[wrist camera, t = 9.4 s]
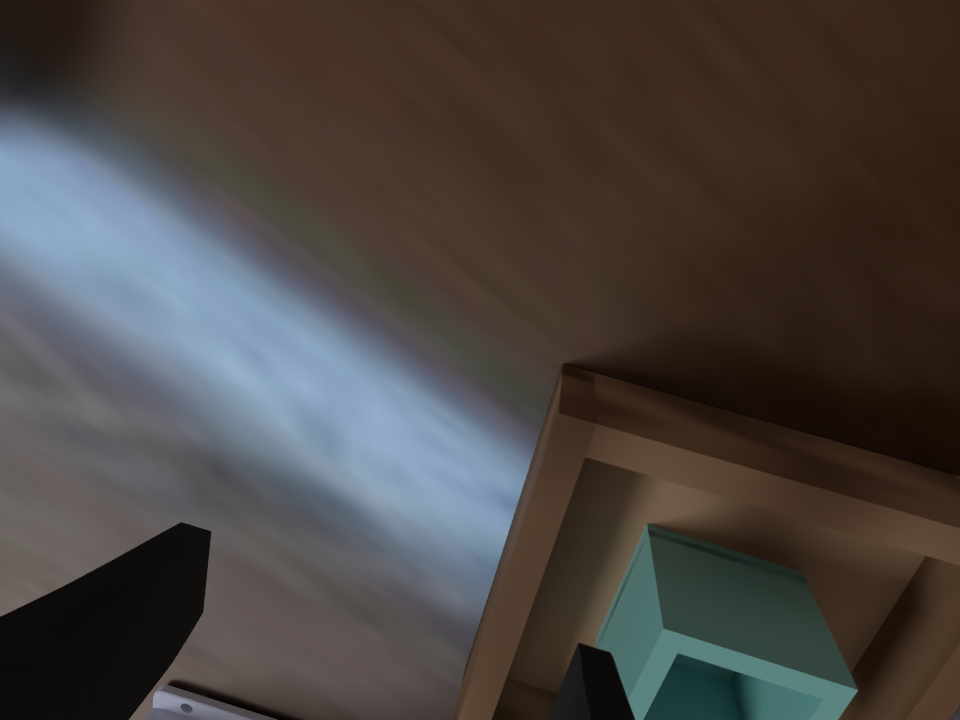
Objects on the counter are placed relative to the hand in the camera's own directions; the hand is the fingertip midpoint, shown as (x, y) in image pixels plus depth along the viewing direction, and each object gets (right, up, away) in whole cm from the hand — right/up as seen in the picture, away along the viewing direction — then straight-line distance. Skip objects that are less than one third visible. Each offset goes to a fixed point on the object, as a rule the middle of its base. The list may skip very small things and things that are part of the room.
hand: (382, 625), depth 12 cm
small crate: (+9, -3, +9) cm, 13 cm away
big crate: (+9, -3, +10) cm, 14 cm away
